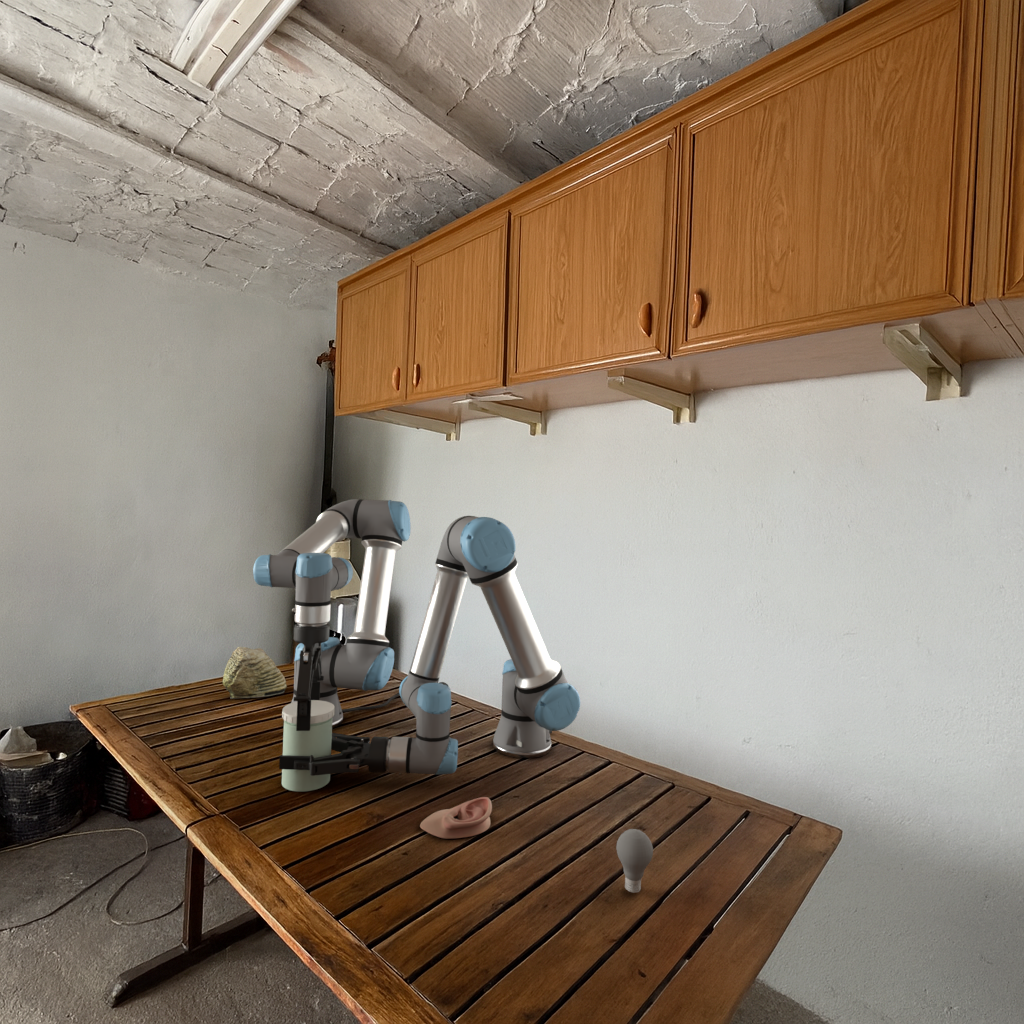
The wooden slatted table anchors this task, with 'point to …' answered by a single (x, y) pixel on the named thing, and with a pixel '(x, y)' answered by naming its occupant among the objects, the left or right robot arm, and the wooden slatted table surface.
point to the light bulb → (634, 857)
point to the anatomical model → (460, 820)
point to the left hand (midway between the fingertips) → (308, 719)
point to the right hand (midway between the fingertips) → (288, 751)
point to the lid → (318, 712)
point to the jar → (306, 754)
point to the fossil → (252, 674)
